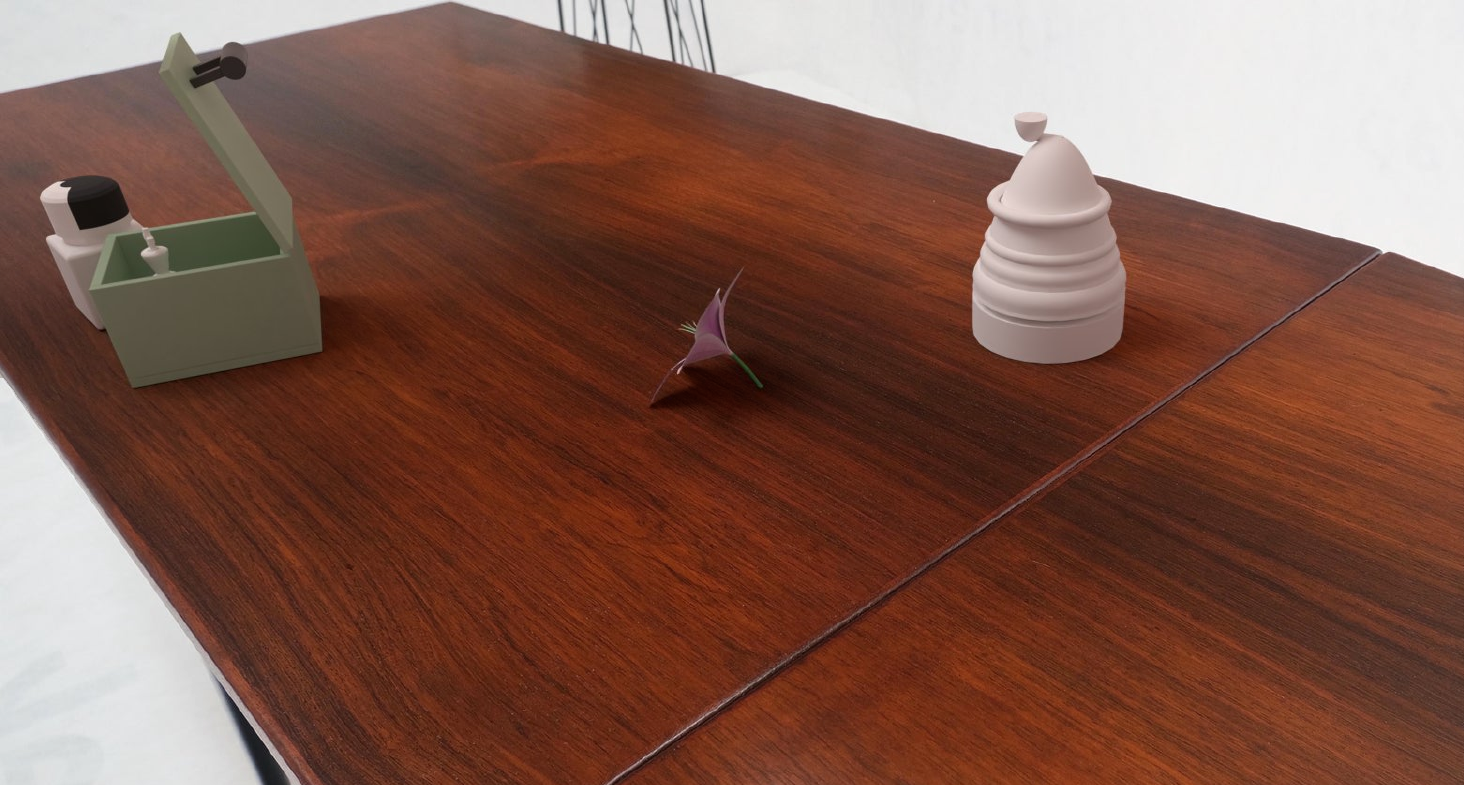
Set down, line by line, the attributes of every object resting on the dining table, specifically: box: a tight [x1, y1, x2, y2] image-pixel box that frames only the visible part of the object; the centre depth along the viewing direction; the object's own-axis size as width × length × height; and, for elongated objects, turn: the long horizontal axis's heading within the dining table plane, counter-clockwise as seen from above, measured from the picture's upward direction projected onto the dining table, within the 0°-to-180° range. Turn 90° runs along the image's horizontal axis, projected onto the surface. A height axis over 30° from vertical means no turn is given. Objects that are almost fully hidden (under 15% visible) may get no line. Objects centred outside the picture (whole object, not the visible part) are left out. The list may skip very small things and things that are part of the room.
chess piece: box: [141, 226, 175, 276], centre depth 102 cm, size 5×5×10 cm
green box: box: [89, 211, 323, 389], centre depth 104 cm, size 15×13×9 cm
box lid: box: [158, 31, 293, 252], centre depth 99 cm, size 16×13×5 cm
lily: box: [648, 265, 764, 407], centre depth 95 cm, size 12×12×10 cm
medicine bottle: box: [39, 174, 145, 331], centre depth 109 cm, size 7×7×12 cm
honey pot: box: [971, 111, 1127, 365], centre depth 98 cm, size 13×13×18 cm
